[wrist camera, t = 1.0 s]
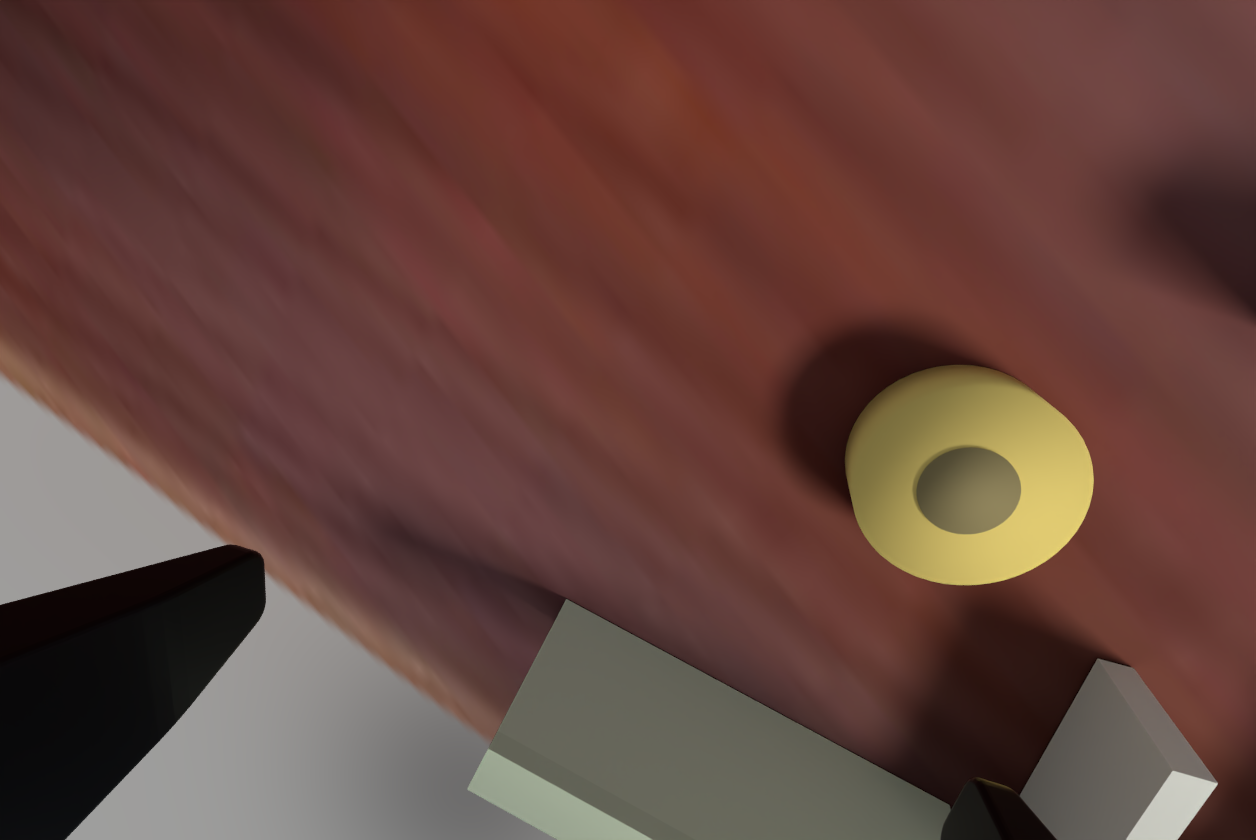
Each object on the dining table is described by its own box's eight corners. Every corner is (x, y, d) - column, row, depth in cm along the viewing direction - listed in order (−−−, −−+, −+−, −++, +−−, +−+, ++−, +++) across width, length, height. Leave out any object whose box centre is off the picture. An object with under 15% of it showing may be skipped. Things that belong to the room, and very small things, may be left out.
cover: (949, 804, 22) (1013, 1039, 16) (918, 834, 23) (968, 1069, 17) (566, 598, 23) (487, 748, 17) (548, 633, 23) (466, 789, 17)
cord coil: (1013, 568, 19) (1039, 611, 17) (822, 519, 20) (826, 555, 18) (1096, 390, 17) (1138, 417, 15) (878, 344, 17) (890, 364, 16)
